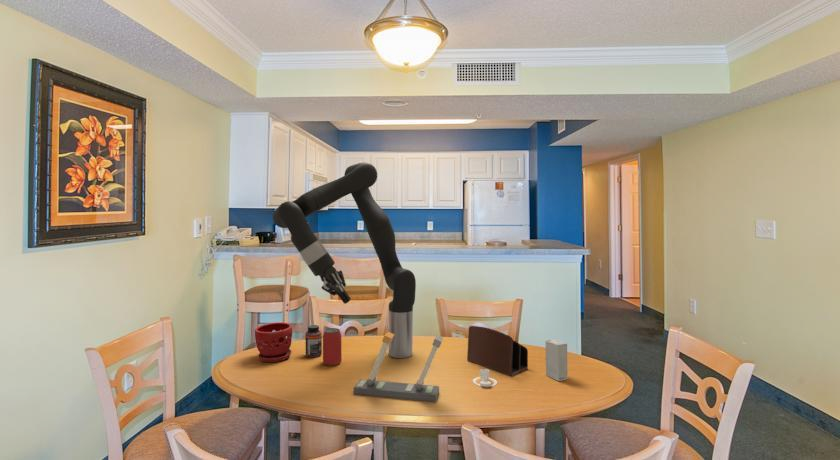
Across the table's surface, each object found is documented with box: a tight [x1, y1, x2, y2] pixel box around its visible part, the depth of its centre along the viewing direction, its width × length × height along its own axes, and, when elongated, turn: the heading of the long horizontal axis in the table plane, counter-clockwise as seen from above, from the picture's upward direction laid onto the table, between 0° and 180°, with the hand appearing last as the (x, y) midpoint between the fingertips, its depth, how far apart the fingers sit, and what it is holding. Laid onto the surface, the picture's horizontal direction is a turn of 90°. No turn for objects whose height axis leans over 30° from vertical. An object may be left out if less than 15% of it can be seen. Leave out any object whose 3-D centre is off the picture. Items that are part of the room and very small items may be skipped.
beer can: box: [322, 327, 342, 367], centre depth 152 cm, size 7×7×12 cm
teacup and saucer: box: [472, 368, 498, 388], centre depth 136 cm, size 9×8×4 cm
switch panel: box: [353, 379, 440, 403], centre depth 127 cm, size 6×25×2 cm, turn 79°
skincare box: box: [545, 338, 568, 382], centre depth 140 cm, size 6×4×12 cm
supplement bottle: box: [305, 324, 323, 359], centre depth 160 cm, size 6×6×11 cm
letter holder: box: [466, 325, 529, 377], centre depth 151 cm, size 10×20×14 cm, turn 41°
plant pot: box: [254, 322, 293, 363], centre depth 156 cm, size 13×13×12 cm
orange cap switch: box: [366, 331, 394, 386], centre depth 128 cm, size 4×2×16 cm, turn 169°
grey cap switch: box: [415, 334, 444, 390], centre depth 125 cm, size 4×2×16 cm, turn 169°
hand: (347, 301), depth 136 cm, fingers closed
